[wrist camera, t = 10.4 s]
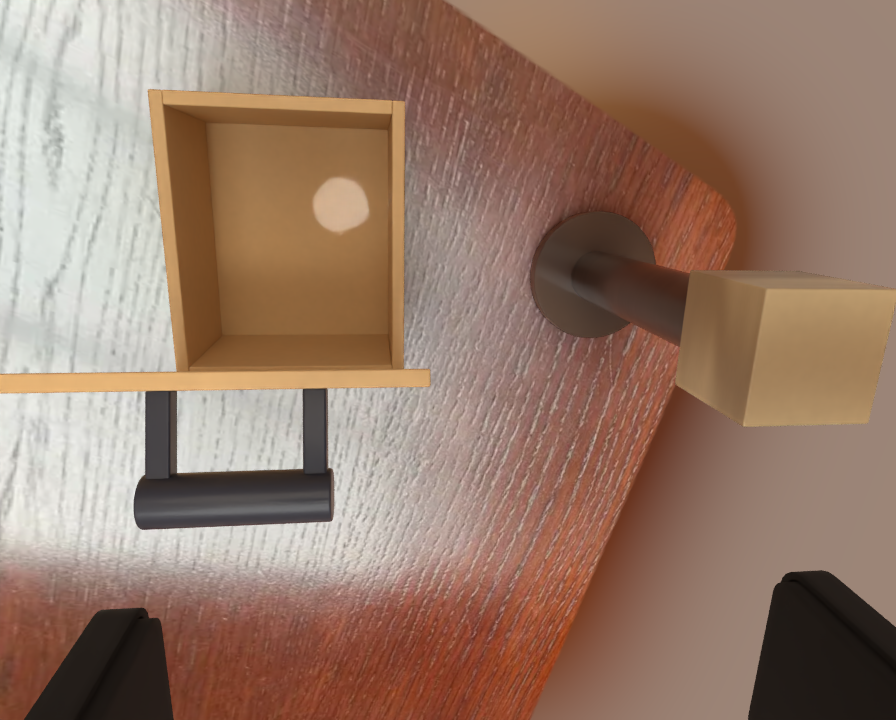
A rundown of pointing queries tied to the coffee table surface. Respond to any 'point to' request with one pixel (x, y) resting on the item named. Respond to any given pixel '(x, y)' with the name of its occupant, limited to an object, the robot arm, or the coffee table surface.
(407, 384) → the carton flap
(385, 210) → the carton
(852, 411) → the block
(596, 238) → the stand
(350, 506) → the coffee table surface
